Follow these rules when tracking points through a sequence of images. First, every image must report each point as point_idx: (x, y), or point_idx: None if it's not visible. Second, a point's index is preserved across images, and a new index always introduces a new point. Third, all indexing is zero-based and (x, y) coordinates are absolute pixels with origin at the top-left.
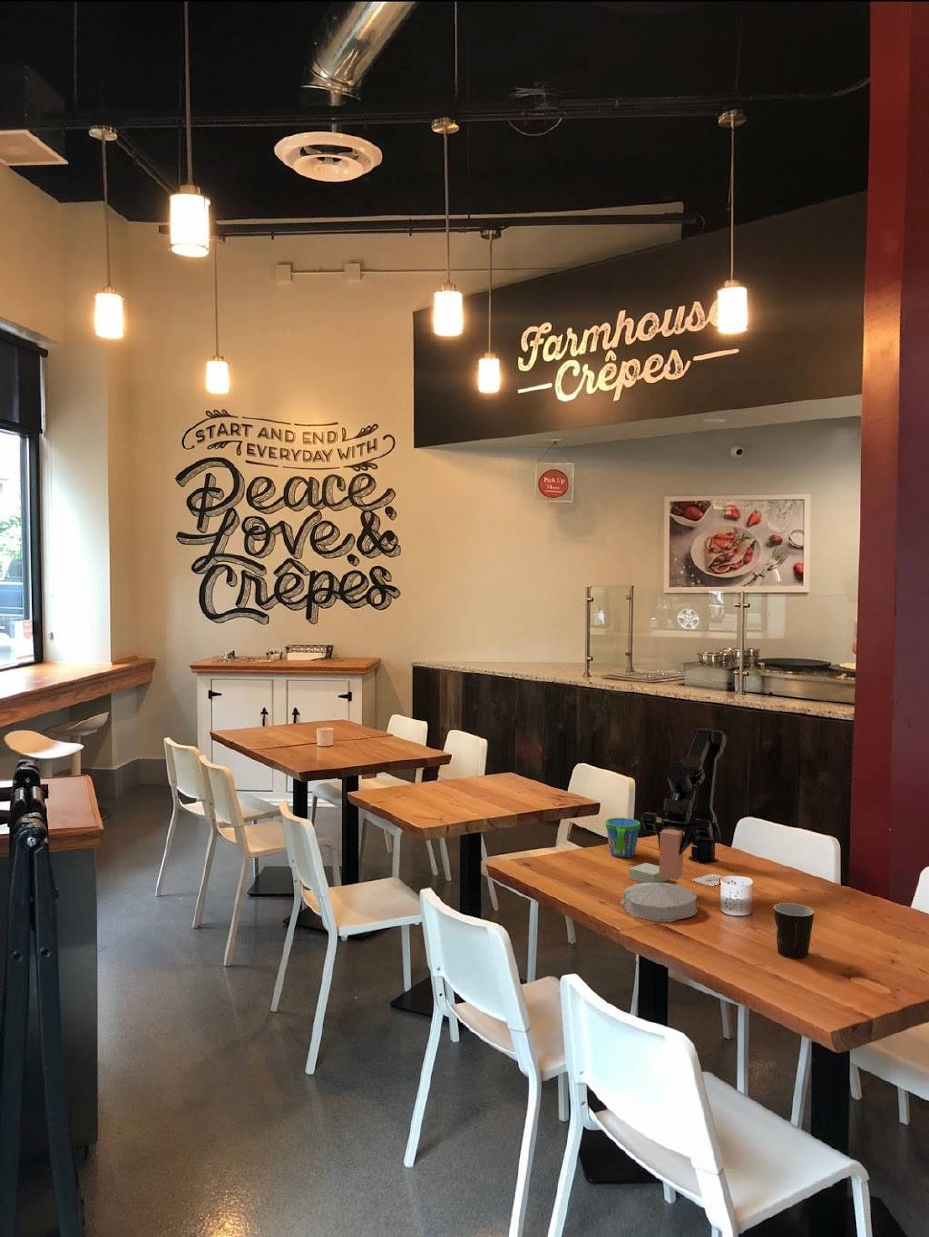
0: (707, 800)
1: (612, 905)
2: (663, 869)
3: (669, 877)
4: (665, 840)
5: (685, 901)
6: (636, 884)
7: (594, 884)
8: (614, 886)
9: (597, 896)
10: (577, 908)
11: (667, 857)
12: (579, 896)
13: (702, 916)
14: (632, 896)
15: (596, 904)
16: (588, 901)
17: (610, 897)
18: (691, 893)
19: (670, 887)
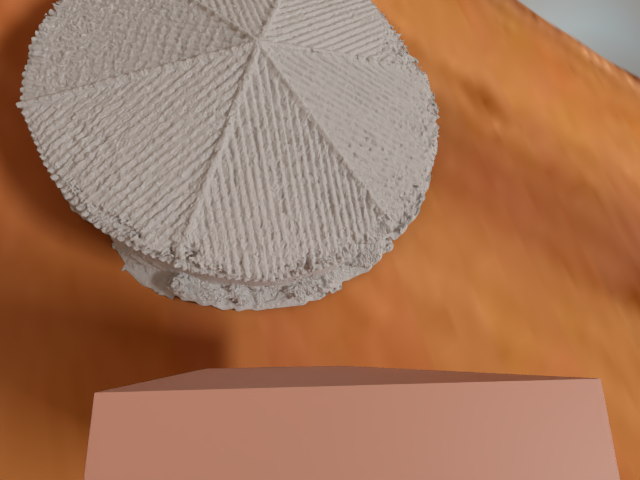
0: None
1: (435, 82)
2: (323, 367)
3: (268, 367)
4: (396, 374)
5: (76, 2)
6: (412, 175)
7: (628, 318)
8: (545, 339)
9: (533, 161)
10: (522, 7)
11: (307, 370)
12: (586, 130)
13: (18, 99)
14: (359, 3)
15: (490, 69)
16: (530, 90)
17: (486, 173)
18: (57, 130)
19: (187, 81)
